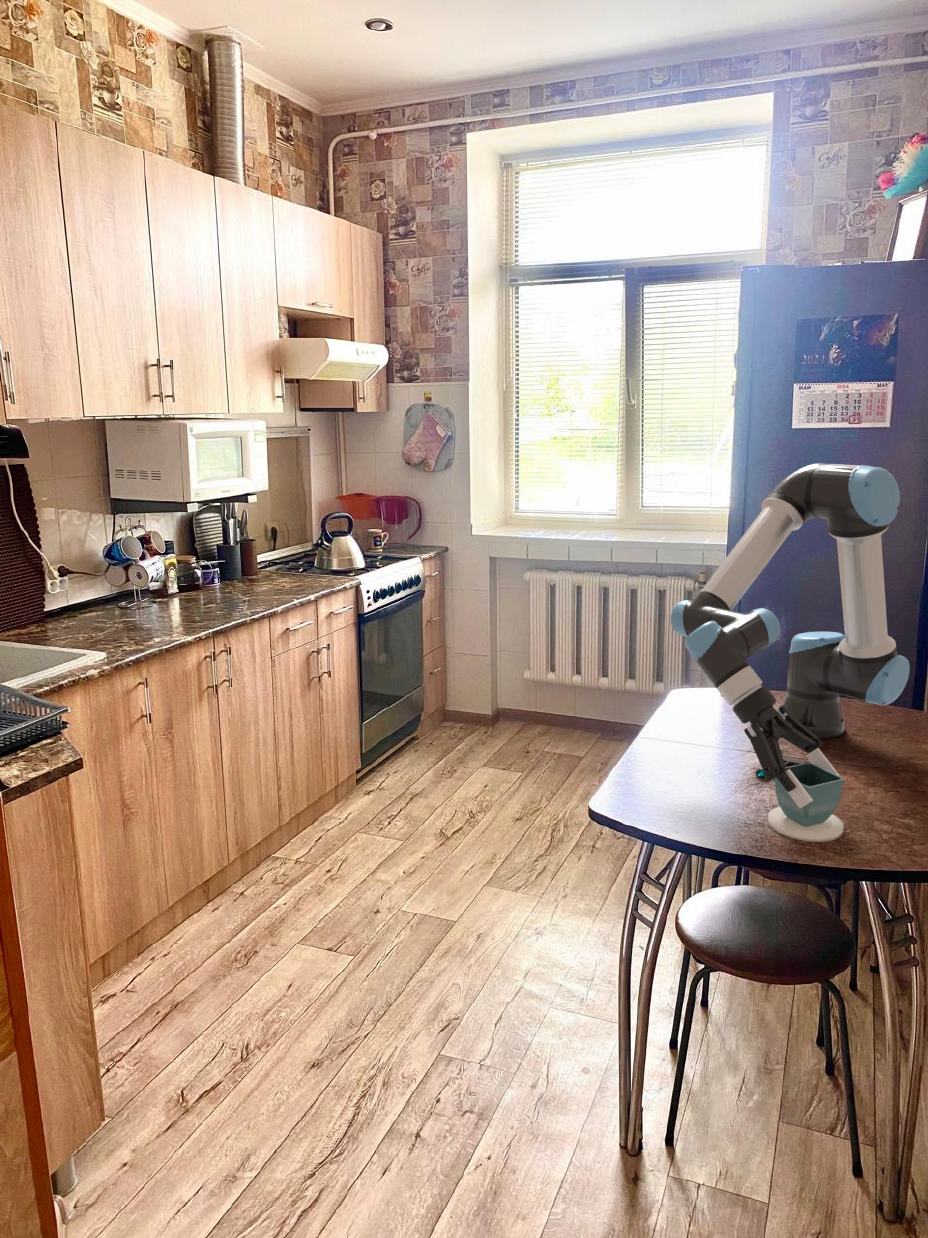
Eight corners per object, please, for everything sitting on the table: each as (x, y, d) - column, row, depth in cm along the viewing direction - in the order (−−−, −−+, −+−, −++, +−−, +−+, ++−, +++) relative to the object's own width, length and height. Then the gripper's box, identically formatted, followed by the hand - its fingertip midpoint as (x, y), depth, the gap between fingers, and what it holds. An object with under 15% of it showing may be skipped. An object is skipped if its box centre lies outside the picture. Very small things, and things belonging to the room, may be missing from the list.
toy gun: (750, 779, 192) (751, 757, 191) (776, 763, 200) (778, 742, 199) (795, 792, 185) (797, 770, 184) (820, 775, 194) (822, 753, 193)
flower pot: (804, 834, 164) (809, 787, 162) (769, 814, 172) (772, 769, 170) (841, 825, 168) (846, 778, 166) (805, 806, 176) (809, 761, 174)
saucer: (810, 806, 178) (810, 800, 178) (859, 835, 166) (859, 829, 166) (753, 816, 174) (753, 810, 174) (798, 846, 162) (799, 840, 162)
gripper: (760, 691, 185) (829, 781, 179) (702, 723, 166) (777, 825, 160) (788, 670, 180) (860, 762, 174) (732, 701, 162) (810, 805, 156)
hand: (821, 792), depth 167 cm, fingers open, 13 cm apart
